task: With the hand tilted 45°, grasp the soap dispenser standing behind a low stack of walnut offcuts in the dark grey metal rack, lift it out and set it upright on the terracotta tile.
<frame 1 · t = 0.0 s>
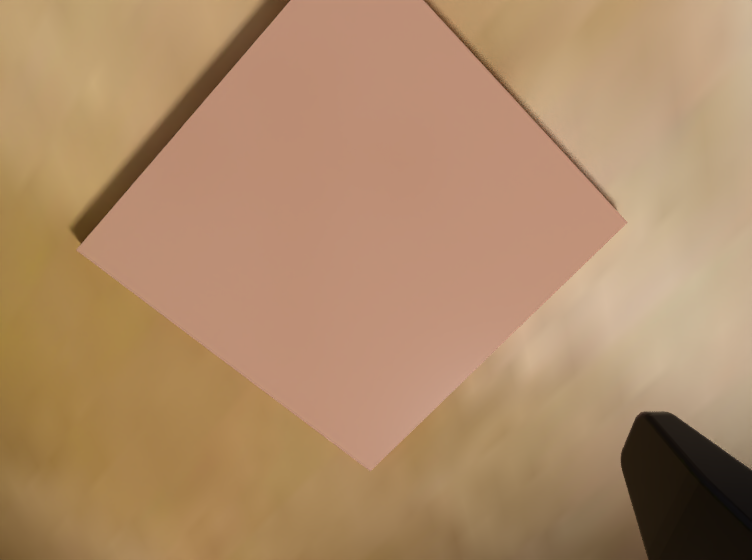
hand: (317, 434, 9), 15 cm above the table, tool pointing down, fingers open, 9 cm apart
terracotta tile: (362, 231, 24), on the table
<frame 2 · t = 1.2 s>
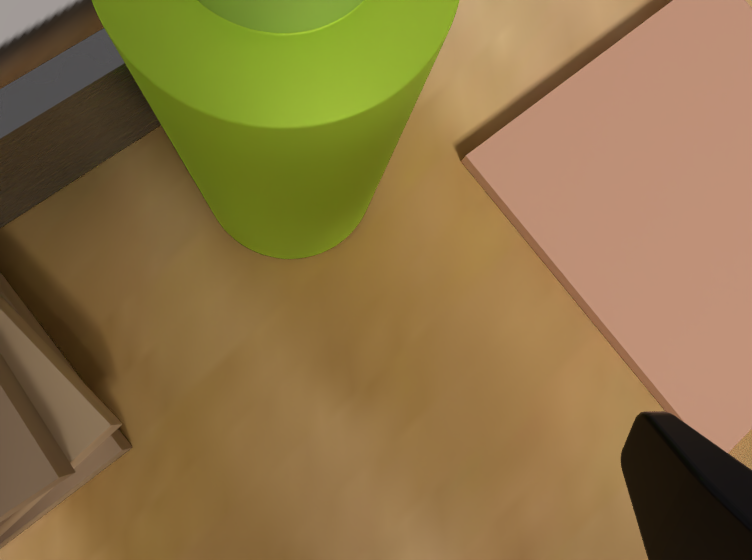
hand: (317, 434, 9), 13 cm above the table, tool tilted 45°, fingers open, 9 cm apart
soap dispenser: (282, 190, 23), on the table
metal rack: (84, 329, 21), on the table
terracotta tile: (707, 200, 25), on the table
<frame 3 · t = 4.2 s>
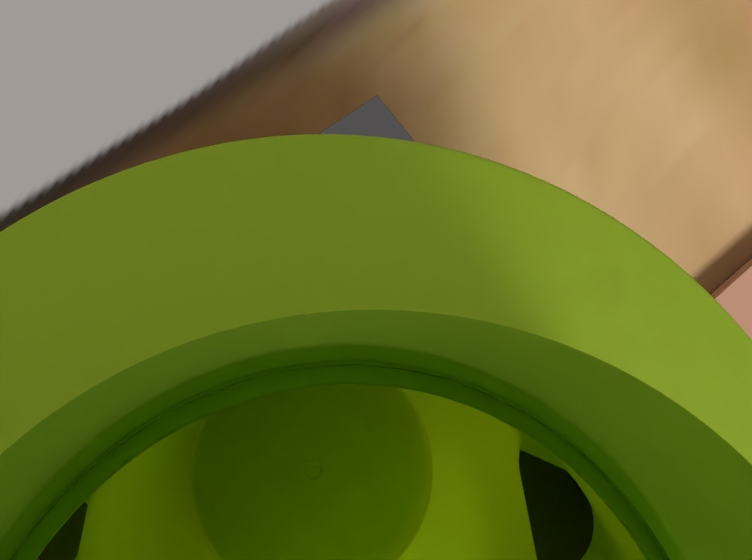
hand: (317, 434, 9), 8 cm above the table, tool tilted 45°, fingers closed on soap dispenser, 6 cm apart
soap dispenser: (302, 487, 16), on the table, touching gripper
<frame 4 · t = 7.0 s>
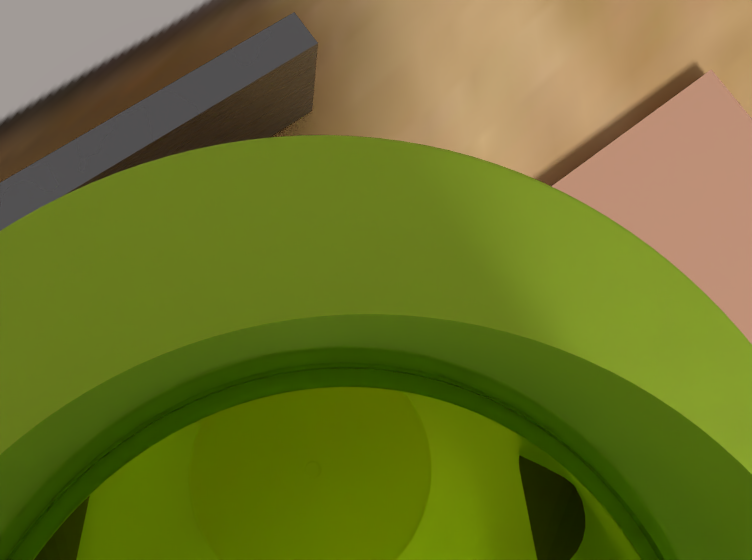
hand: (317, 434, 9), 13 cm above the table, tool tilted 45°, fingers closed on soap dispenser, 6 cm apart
soap dispenser: (300, 487, 16), point 5 cm above the table, touching gripper
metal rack: (28, 449, 20), on the table
terracotta tile: (693, 316, 24), on the table
when the fingers open (9 cm above the table, at t = 9.8 s): soap dispenser drops 1 cm, resting on terracotta tile.
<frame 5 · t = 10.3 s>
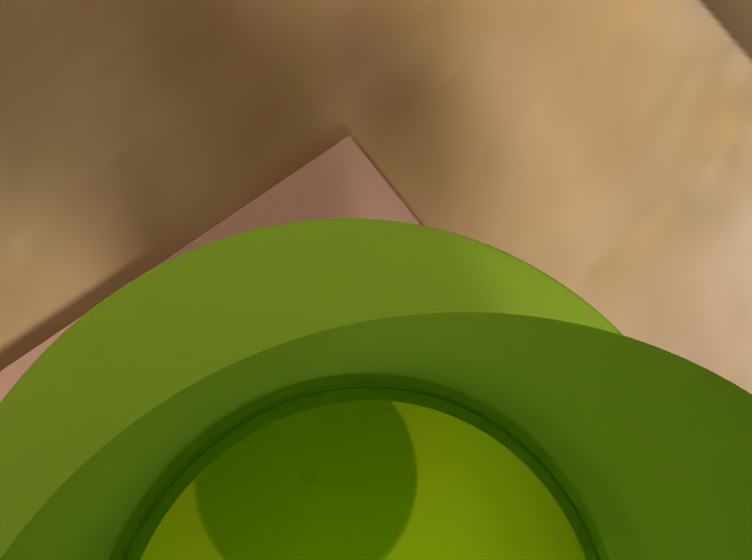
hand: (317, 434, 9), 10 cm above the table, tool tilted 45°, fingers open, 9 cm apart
soap dispenser: (297, 491, 17), resting on terracotta tile
terracotta tile: (301, 479, 18), on the table
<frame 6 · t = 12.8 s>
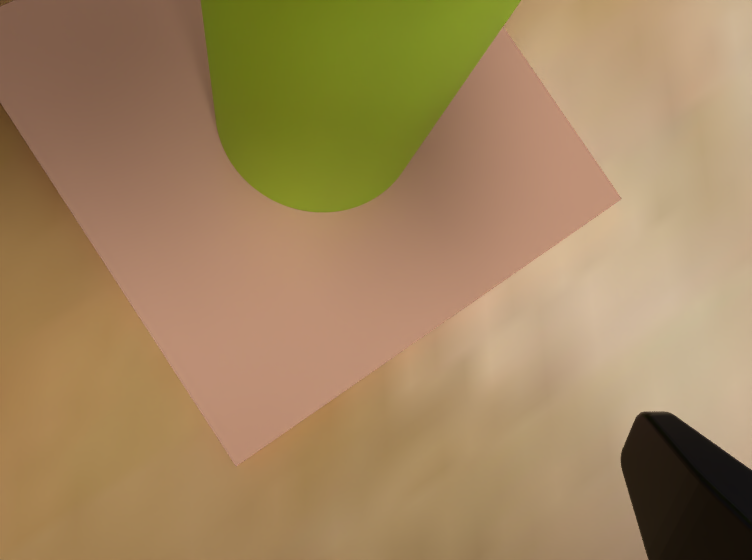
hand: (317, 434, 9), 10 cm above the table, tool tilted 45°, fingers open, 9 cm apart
soap dispenser: (307, 131, 19), resting on terracotta tile
terracotta tile: (310, 128, 20), on the table
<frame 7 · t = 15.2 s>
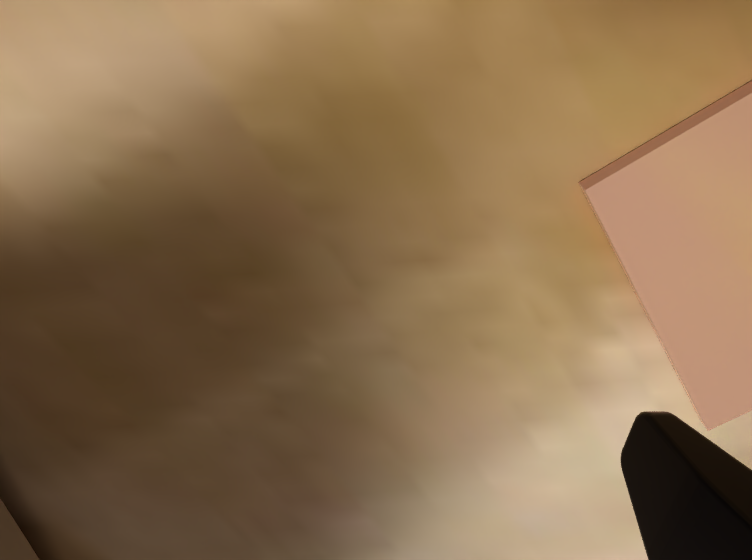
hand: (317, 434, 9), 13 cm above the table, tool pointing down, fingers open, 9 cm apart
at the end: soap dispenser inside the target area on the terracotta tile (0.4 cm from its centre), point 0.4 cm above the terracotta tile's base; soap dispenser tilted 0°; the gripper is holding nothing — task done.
